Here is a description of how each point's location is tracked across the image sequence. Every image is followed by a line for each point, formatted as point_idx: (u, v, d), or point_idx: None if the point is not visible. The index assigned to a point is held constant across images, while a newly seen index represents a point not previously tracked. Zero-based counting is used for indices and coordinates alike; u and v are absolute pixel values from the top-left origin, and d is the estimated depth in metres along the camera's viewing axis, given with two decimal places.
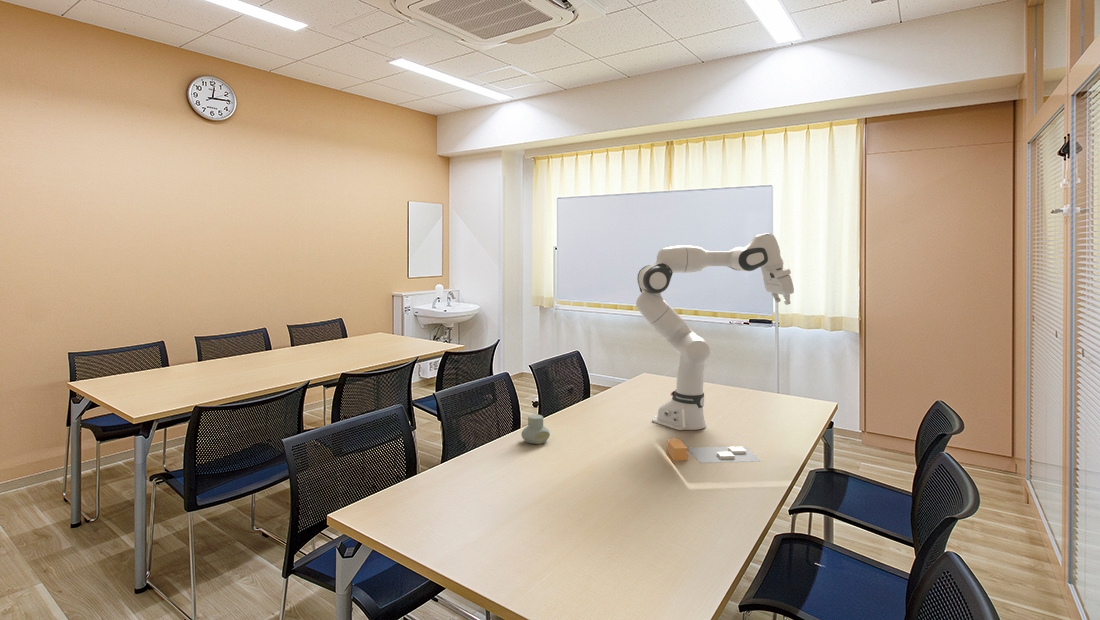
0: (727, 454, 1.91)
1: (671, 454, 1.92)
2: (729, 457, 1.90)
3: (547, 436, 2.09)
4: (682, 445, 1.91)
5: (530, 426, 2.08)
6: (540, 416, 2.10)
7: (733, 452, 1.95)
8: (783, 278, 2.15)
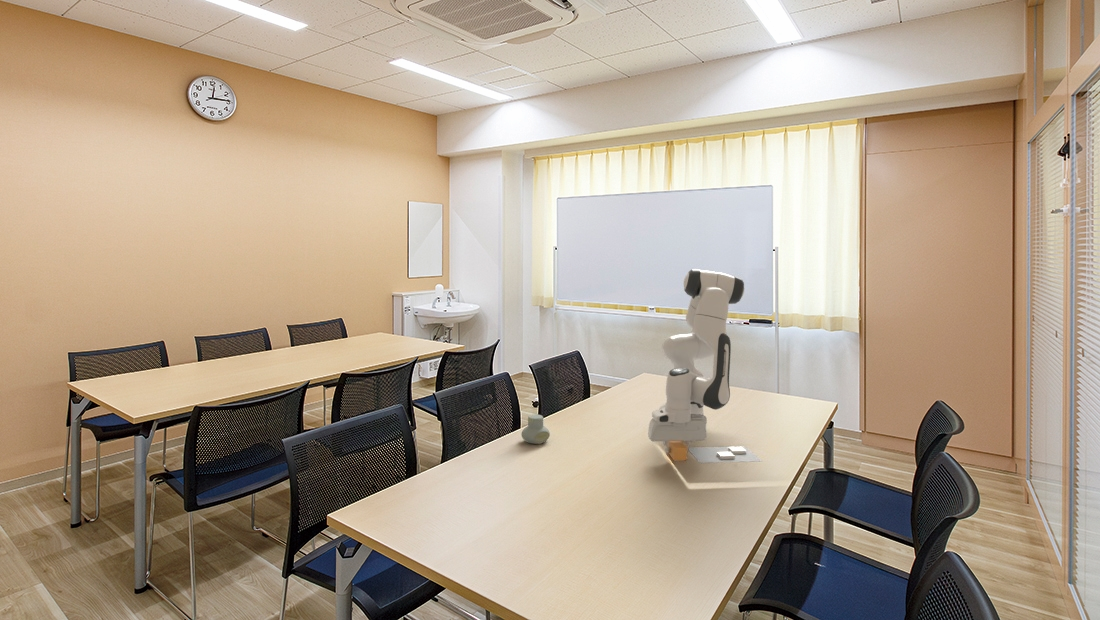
0: (727, 454, 1.91)
1: (671, 454, 1.92)
2: (729, 457, 1.90)
3: (547, 436, 2.09)
4: (682, 445, 1.91)
5: (530, 426, 2.08)
6: (540, 416, 2.10)
7: (733, 452, 1.95)
8: (652, 421, 1.92)
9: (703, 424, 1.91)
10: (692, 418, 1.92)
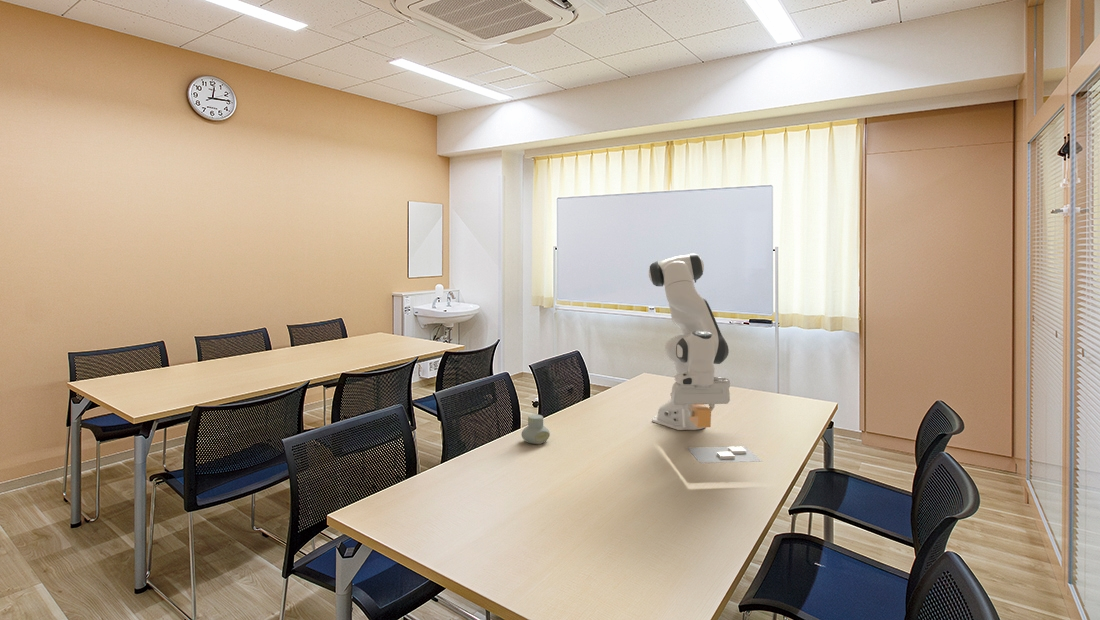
0: (727, 454, 1.91)
1: (694, 417, 1.91)
2: (729, 457, 1.90)
3: (547, 436, 2.09)
4: (705, 408, 1.90)
5: (530, 426, 2.08)
6: (540, 416, 2.10)
7: (733, 452, 1.95)
8: (675, 384, 1.91)
9: (726, 387, 1.90)
10: (715, 381, 1.91)
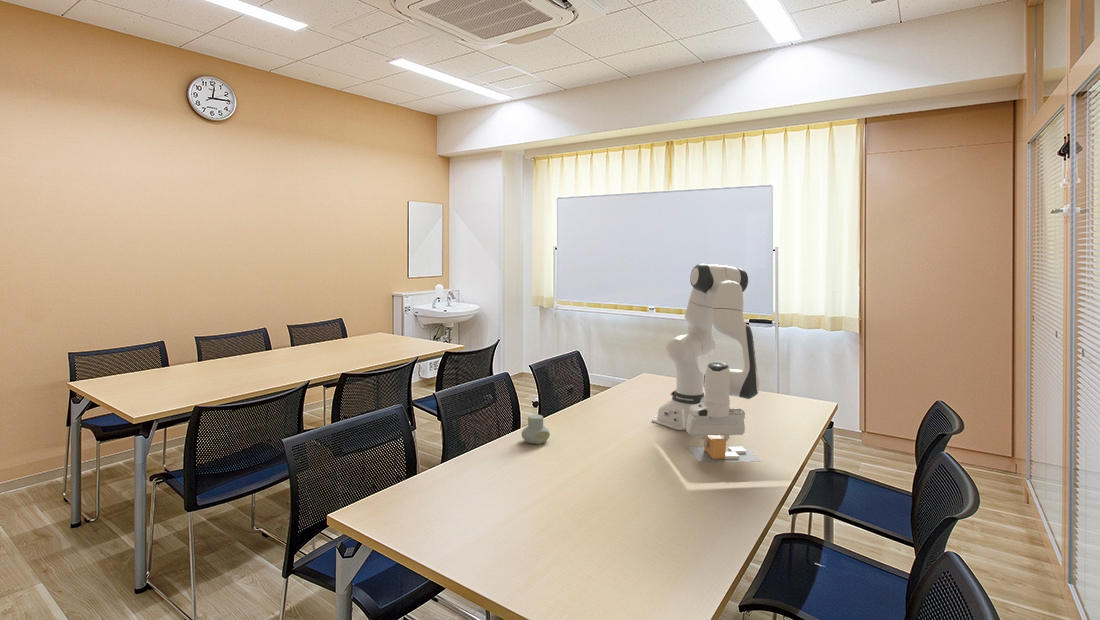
0: (731, 454, 1.91)
1: (709, 448, 1.92)
2: (733, 457, 1.90)
3: (547, 436, 2.09)
4: (720, 439, 1.91)
5: (530, 426, 2.08)
6: (540, 416, 2.10)
7: None
8: (691, 415, 1.92)
9: (742, 418, 1.91)
10: (730, 412, 1.92)
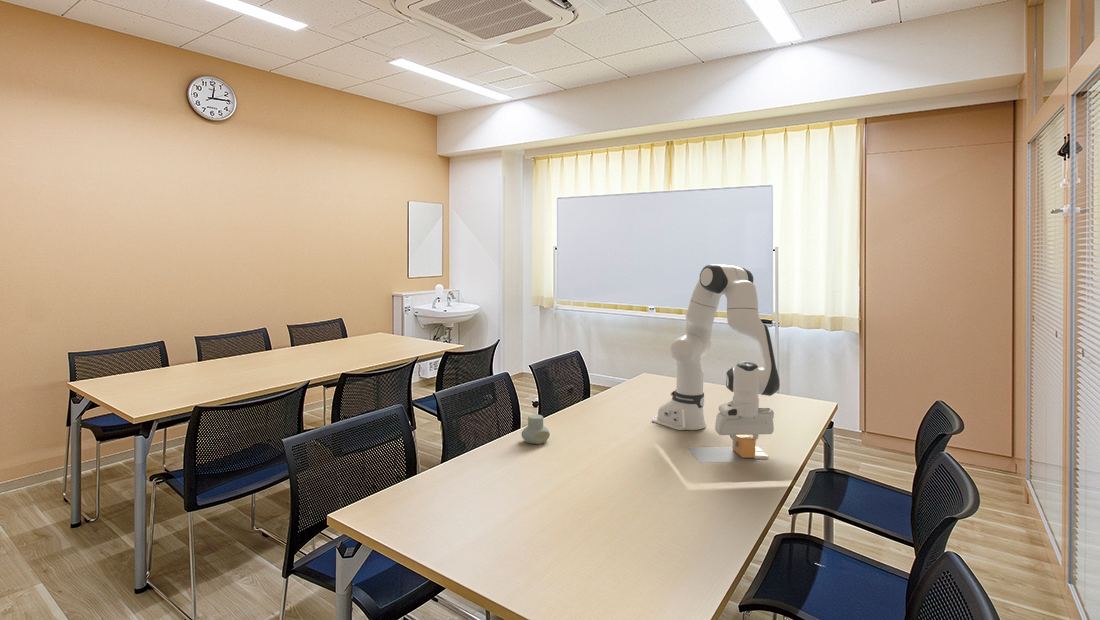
0: (761, 454, 1.92)
1: (738, 447, 1.93)
2: (763, 457, 1.90)
3: (547, 436, 2.09)
4: (750, 438, 1.92)
5: (530, 426, 2.08)
6: (540, 416, 2.10)
7: None
8: (720, 414, 1.93)
9: (771, 418, 1.92)
10: (759, 412, 1.93)
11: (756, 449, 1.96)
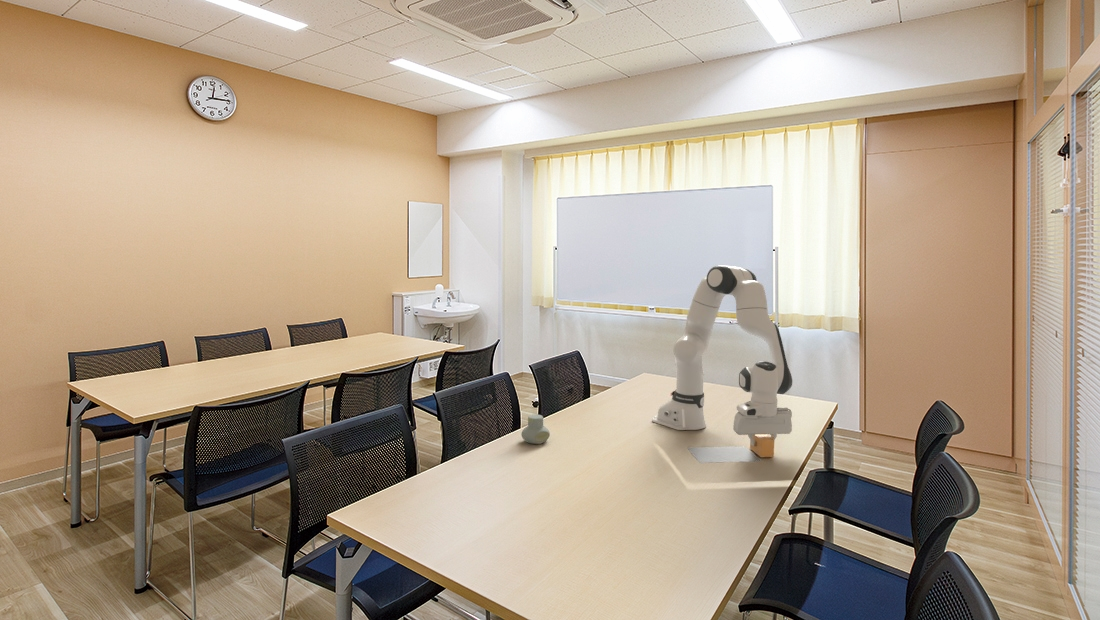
0: None
1: (757, 446, 1.93)
2: None
3: (547, 436, 2.09)
4: (768, 437, 1.93)
5: (530, 426, 2.08)
6: (540, 416, 2.10)
7: None
8: (738, 414, 1.93)
9: (789, 417, 1.93)
10: (778, 412, 1.93)
11: None
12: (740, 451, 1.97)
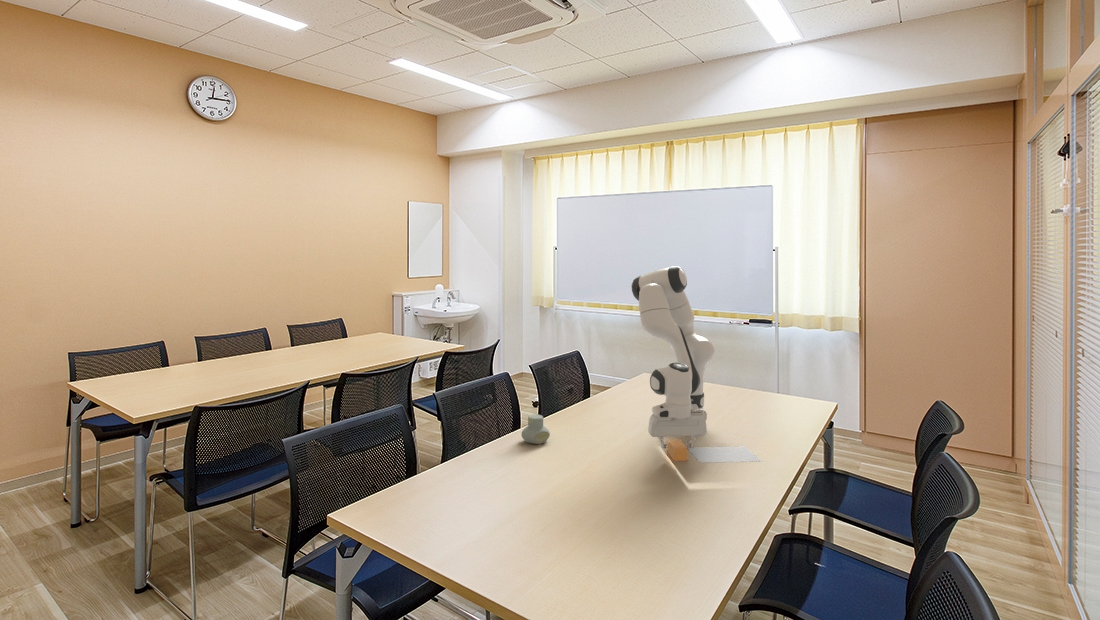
0: None
1: (671, 454, 1.91)
2: None
3: (547, 436, 2.09)
4: (682, 445, 1.91)
5: (530, 426, 2.08)
6: (540, 416, 2.10)
7: None
8: (652, 416, 1.91)
9: (703, 419, 1.90)
10: (692, 413, 1.91)
11: None
12: (740, 451, 1.97)
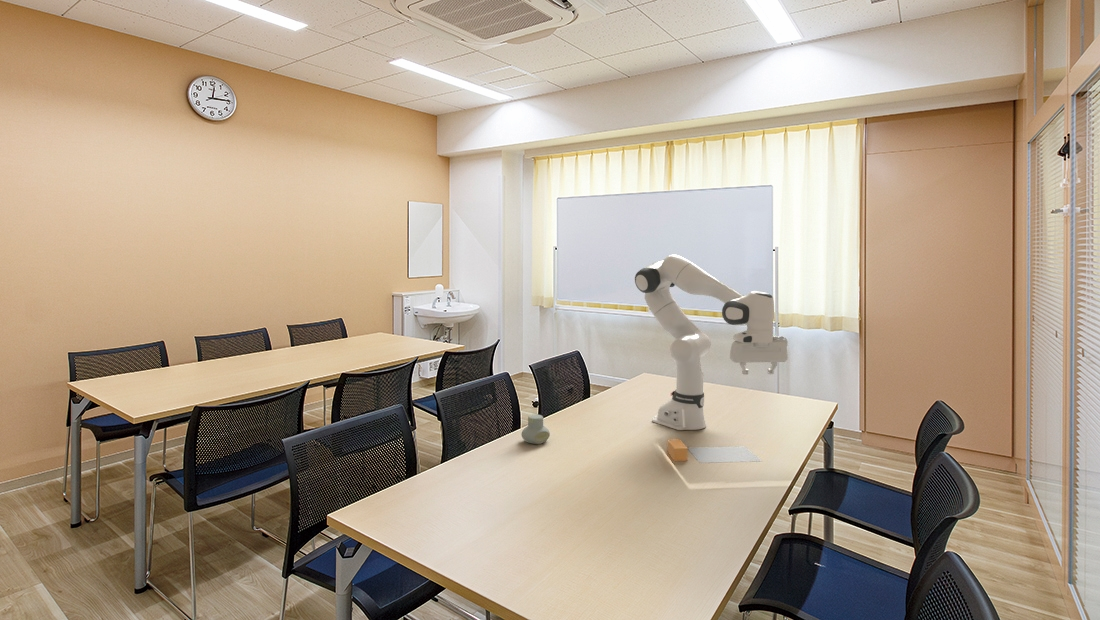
0: None
1: (671, 454, 1.91)
2: None
3: (547, 436, 2.09)
4: (682, 445, 1.91)
5: (530, 426, 2.08)
6: (540, 416, 2.10)
7: None
8: (735, 343, 1.96)
9: (784, 346, 1.95)
10: (773, 340, 1.96)
11: None
12: (740, 451, 1.97)
